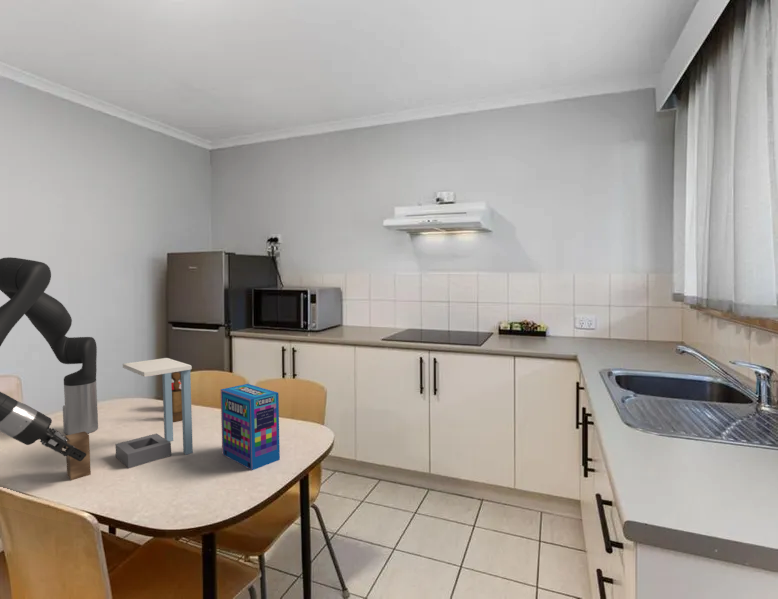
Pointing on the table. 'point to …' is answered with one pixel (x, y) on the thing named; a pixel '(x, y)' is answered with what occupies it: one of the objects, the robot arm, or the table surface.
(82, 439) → the walnut peg
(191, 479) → the table surface
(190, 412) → the two-legged side table
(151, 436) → the socket
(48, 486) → the table surface
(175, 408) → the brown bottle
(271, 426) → the box
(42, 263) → the robot arm
